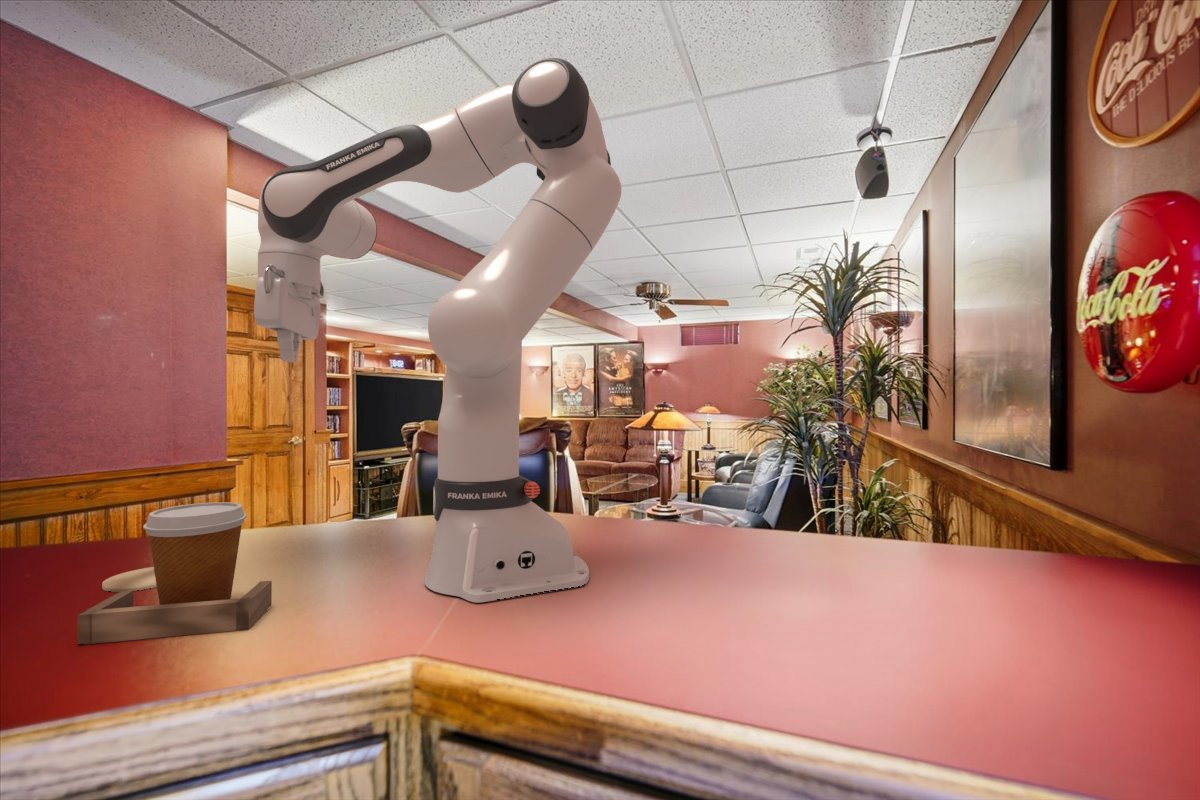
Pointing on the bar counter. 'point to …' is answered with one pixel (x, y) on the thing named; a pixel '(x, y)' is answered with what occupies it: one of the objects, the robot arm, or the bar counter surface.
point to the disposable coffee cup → (195, 550)
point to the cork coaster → (131, 581)
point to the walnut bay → (170, 617)
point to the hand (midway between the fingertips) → (289, 361)
